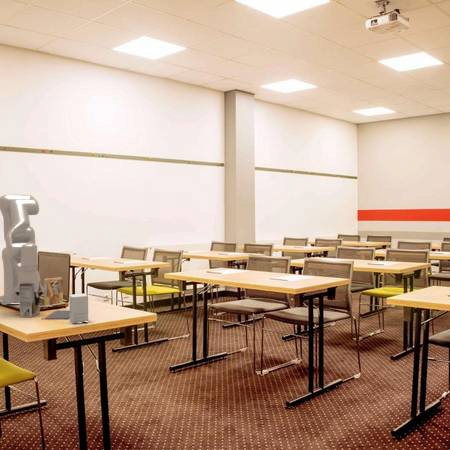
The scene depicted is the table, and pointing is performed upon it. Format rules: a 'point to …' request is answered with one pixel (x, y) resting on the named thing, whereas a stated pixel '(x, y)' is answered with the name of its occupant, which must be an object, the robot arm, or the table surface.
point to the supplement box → (78, 308)
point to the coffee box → (28, 301)
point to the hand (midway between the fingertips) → (29, 304)
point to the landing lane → (58, 315)
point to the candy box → (53, 291)
